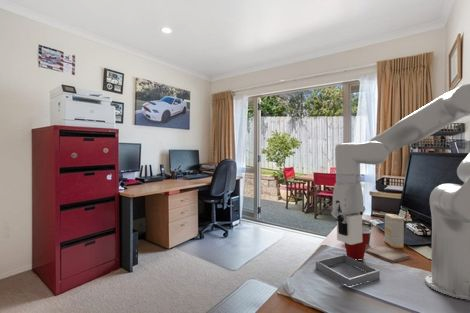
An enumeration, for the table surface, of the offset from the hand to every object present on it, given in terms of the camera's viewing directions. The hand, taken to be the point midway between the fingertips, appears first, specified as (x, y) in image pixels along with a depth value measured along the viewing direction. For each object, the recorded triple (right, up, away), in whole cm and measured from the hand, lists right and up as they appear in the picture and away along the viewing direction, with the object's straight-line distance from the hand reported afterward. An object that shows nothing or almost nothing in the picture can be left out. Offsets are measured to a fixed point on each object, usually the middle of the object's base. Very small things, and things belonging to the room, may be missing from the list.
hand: (349, 232), depth 82 cm
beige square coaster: (+23, -14, +16) cm, 31 cm away
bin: (-1, -14, 0) cm, 14 cm away
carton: (0, -3, 0) cm, 3 cm away
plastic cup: (+9, -14, +13) cm, 21 cm away
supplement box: (+33, -14, +27) cm, 45 cm away
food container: (+19, -14, +32) cm, 39 cm away
